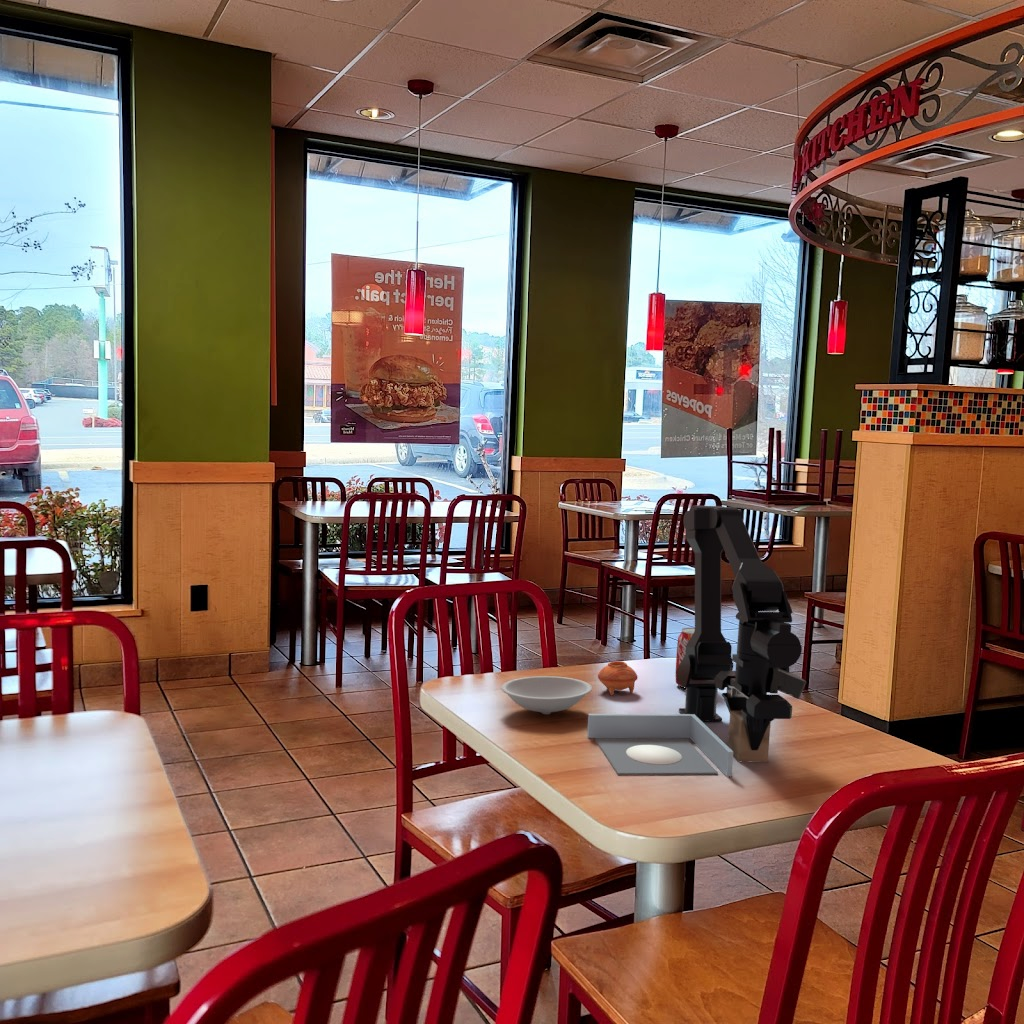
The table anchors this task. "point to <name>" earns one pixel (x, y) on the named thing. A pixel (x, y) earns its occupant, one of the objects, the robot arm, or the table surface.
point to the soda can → (682, 646)
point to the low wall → (663, 732)
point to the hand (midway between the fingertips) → (748, 744)
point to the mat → (654, 756)
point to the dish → (546, 692)
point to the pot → (617, 676)
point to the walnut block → (745, 740)
